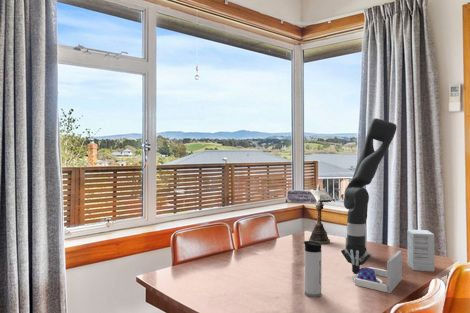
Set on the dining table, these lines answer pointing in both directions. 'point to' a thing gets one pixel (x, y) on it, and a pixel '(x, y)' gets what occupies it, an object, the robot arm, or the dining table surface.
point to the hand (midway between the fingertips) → (356, 273)
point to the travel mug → (312, 268)
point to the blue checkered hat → (367, 275)
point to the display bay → (386, 275)
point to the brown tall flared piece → (319, 231)
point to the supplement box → (421, 250)
